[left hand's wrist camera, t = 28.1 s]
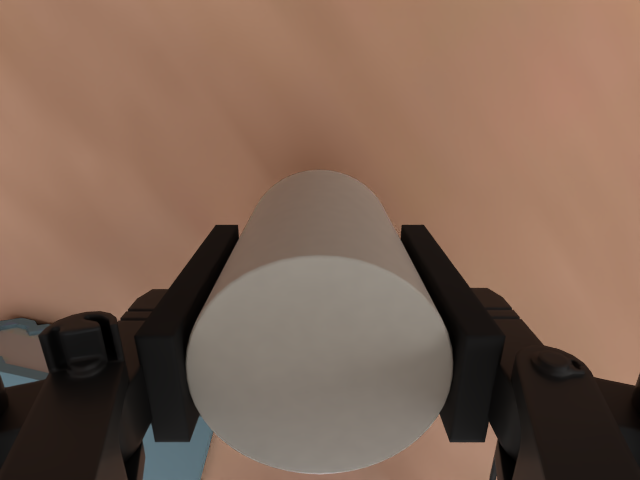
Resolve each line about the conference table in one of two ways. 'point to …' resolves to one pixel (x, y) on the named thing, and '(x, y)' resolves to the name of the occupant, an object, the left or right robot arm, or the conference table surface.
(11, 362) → the book
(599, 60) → the conference table surface
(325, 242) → the can
